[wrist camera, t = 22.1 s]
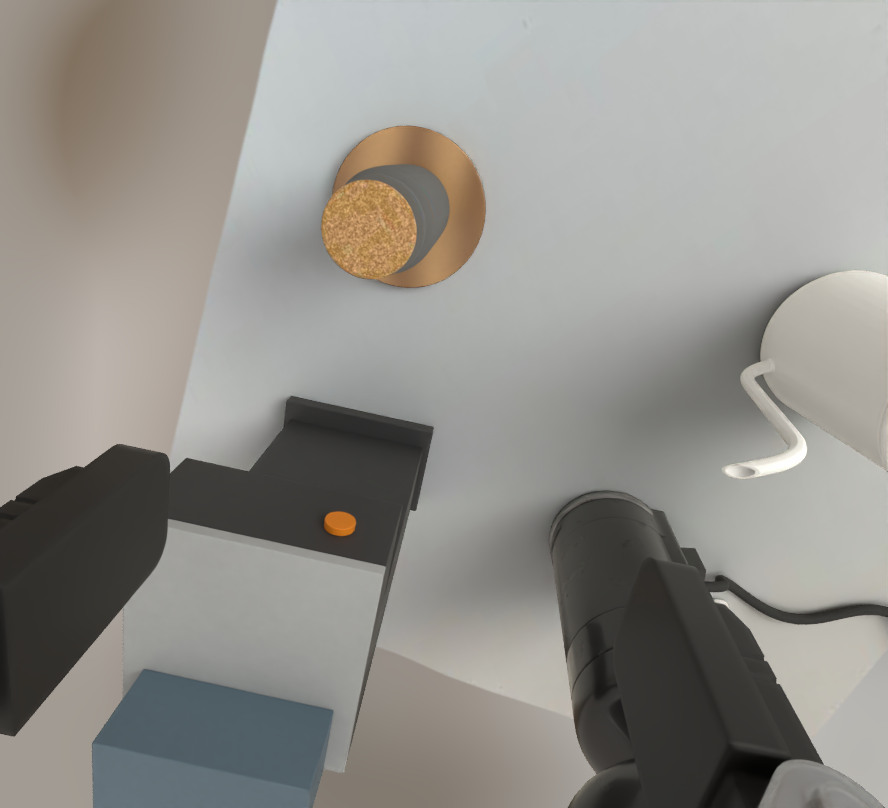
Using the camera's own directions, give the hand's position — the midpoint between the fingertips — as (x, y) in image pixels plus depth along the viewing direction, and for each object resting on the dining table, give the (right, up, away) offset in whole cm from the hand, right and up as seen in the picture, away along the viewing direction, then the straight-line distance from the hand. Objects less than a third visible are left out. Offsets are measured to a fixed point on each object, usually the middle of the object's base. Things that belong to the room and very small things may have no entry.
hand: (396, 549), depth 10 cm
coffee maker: (-6, +1, +41) cm, 42 cm away
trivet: (-2, +16, +35) cm, 38 cm away
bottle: (-2, +16, +34) cm, 38 cm away
